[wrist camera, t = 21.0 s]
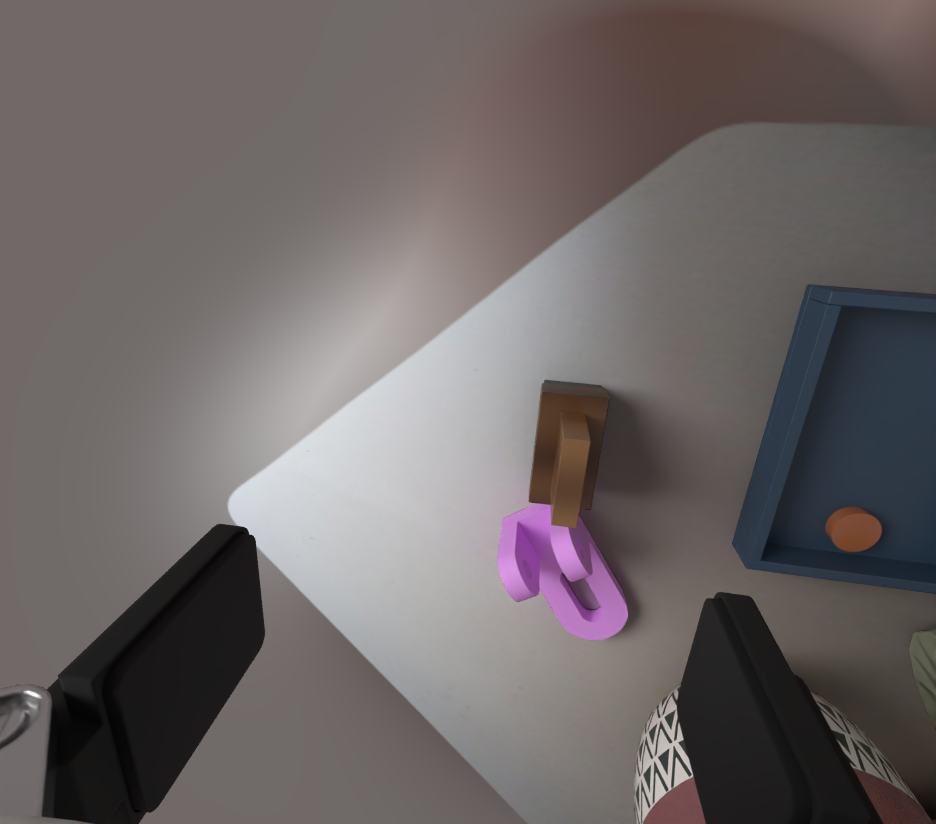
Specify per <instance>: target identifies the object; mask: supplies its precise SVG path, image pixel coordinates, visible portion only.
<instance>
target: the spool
mask: <svg viewBox="0 0 936 824" xmlns="http://www.w3.org/2000/svg"><path fill="white" fill-rule="evenodd" d="M909 652H910V657H911V663H912V668H913V674H914V678H915V681H916V683H917V686H918V689H919V691H920V694H921V697H922V699H923V702H924V705H925V708H926V710H927V713H928V715H929V717H930V719H931V721H932V723H933V725H934V727H935V729H936V628H935V629H929V630H924V631H918V632H914V633H913V636H912V640H911V643H910V647H909Z"/></svg>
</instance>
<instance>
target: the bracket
mask: <svg viewBox="0 0 936 824" xmlns="http://www.w3.org/2000/svg"><path fill="white" fill-rule="evenodd" d="M498 568H499V572H500V576H501V579H502V581H503V584H504V586H505V588H506V590H507V592H508V593H509V595H510V596H511V597H512V598H513V599H514V600H515V601H516V602H520V601H523V600H526V599H528V598H531V597H534V596H537V595H538V594H539V589H540V590H541V592H542V593H543V595H544V597H545V598H546V600H547V602H548V603H549V605H550V606H551V608H552V610H553V611H554V613H555V614H556V616H557V618H558V619H559V621H560V622H561V624H562V625H563V627H564V628H565V629H566V630H567V631H568V632H570V633H571V634H573V635H575V636H577V637H579V638H582V639H587V640H601V639H606V638H609V637H611V636H613V635H615V634H616V633H618V632H619V631H620V630H621V629H622V628H623V627H624V625H625V623H626V621H627V617H628V610H627V605H626V600H625V596H624V593H623V591H622V589H621V587H620V586H619V584H618V582H617V580H616V579H615V577H614V575H613V573H612V572H611V570H610V568H609V566H608V565H607V563H606V561H605V559H604V558H603V556H602V554H601V552H600V551H599V549H598V547H597V545H596V544H595V542H594V540H593V538H592V537H591V535H590V533H589V531H588V530H587V528H586V526H585V524H584V523H583V521H582V519H581V517H580V516H579V517H578V523H577V528H570V527H562V526H554V525H551V505H547V504H539V503H538V504H535V505H533V506H531V507H528V508H526V509H524V510H521V511H519V512H517V513H514V514H512V515H509V516H507V517H505V518H503V522H502V529H501V536H500V544H499V551H498ZM562 572H563V573H564V574H565V576H566V577H567V579H568V580H569V581H571V582H574V581H577V580H580V579H583V578H585V580H586V581H587V583H588V585H589V587H590V588H591V590H592V592H593V593H594V595H595V597H596V598H597V600H598V602H599V603H600V605H601V606H600V607H599V608H598V609H596V610H587V609H585V608H583V607H582V606H581V604H580V603H579V601H578V599H577V598H576V596H575V594H574V593H573V591H572V589H571V588H570V586H569V584H568V583H567V581H566V580H565V578H564V576H563V575H562Z"/></svg>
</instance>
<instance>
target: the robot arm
mask: <svg viewBox="0 0 936 824" xmlns="http://www.w3.org/2000/svg"><path fill="white" fill-rule="evenodd" d="M264 636H265V629H264V618H263V608H262V600H261V589H260V580H259V569H258V560H257V550H256V541H255V538H254V536H252V535H249V532H248V530H247V528H245V527H240V526H233V525H225V524H218V525H216V526H214V527H213V528H212V529H211V530H210V531H209V532H208V533H207V534H206V535H205V536H204V537H203V538H201V539H200V540H199V541H198V542H197V543H196V544H195V545H194V546H193V547H192V548H191V549H190V550H189V551H188V552H187V553H186V554H185V555H184V556H183V557H182V558H181V559H179V560H178V561H177V562H176V563H175V564H174V565H173V566H172V567H171V568H170V569H169V570H168V571H167V572H166V573H165V574H164V575H163V576H162V577H161V578H160V579H159V580H158V581H156V582H155V583H154V584H153V585H152V586H151V587H150V588H149V589H148V590H147V591H146V592H145V593H144V594H143V595H142V596H141V597H140V598H139V599H138V600H137V601H135V602H134V604H132V605H131V606H130V607H129V608H128V609H127V610H126V611H125V612H124V613H123V614H122V615H121V616H120V617H119V618H118V619H117V620H116V621H115V622H113V623H112V624H111V625H110V626H109V627H108V628H107V629H106V630H105V631H104V632H103V633H102V634H101V635H100V636H99V637H98V638H97V639H96V640H95V641H94V642H93V643H92V644H90V645H89V646H88V647H87V649H85V650H84V651H83V652H82V653H81V654H80V655H79V656H78V657H77V658H76V659H75V660H74V661H73V662H72V663H71V664H70V665H68V666H67V667H66V668H65V669H64V670H63V671H62V672H61V673H60V674H59V675H58V679H57V680H56V681H55V682H54V683H53V684H52V685H51V686H50V687H49V688H48V689H47V690H46V689H45V688H44V687H40V686H37V685H33V684H25V685H15V686H10V687H6V688H2V689H0V824H139V822H140V821H141V819H142V818H143V816H144V815H145V813H146V812H149V813H150V812H152V811H154V810H155V809H156V808H157V807H158V806H159V805H160V803H161V802H162V800H163V799H164V797H165V795H166V794H167V792H168V791H169V789H170V788H171V786H172V785H173V783H174V782H175V780H176V779H177V777H178V776H179V774H180V773H181V771H182V769H183V768H184V766H185V765H186V763H187V762H188V760H189V759H190V757H191V756H192V754H193V752H194V751H195V749H196V748H197V746H198V745H199V743H200V742H201V740H202V738H203V737H204V735H205V734H206V732H207V731H208V729H209V728H210V726H211V725H212V723H213V722H214V720H215V719H216V717H217V715H218V714H219V712H220V711H221V709H222V708H223V706H224V705H225V703H226V702H227V700H228V698H229V697H230V695H231V694H232V692H233V691H234V689H235V688H236V686H237V685H238V683H239V681H240V680H241V678H242V677H243V675H244V673H245V672H246V671H247V669H248V667H249V666H250V664H251V663H252V661H253V660H254V658H255V657H256V655H257V654H258V652H259V650H260V648H261V647H262V644H263V640H264ZM677 716H678V720H679V724H680V728H681V732H682V735H683V739H684V743H685V747H686V750H687V754H688V758H689V762H690V766H691V769H692V773H693V777H694V781H695V785H696V788H697V792H698V796H699V800H700V803H701V807H702V811H703V815H704V819H705V822H706V824H884V823H883V822H882V820H881V818H880V816H879V814H878V813H877V811H876V809H875V807H874V805H873V804H872V802H871V800H870V798H869V796H868V795H867V793H866V791H865V789H864V787H863V786H862V784H861V782H860V780H859V778H858V777H857V775H856V773H855V771H854V769H853V768H852V766H851V764H850V762H849V760H848V759H847V757H846V755H845V753H844V751H843V750H842V748H841V746H840V744H839V742H838V741H837V739H836V737H835V735H834V733H833V732H832V730H831V728H830V726H829V724H828V723H827V721H826V719H825V717H824V715H823V714H822V712H821V710H820V708H819V706H818V705H817V703H816V701H815V699H814V697H813V696H812V694H811V692H810V690H809V688H808V687H807V685H806V684H805V683H804V681H803V680H802V679H801V678H799V677H798V676H796V675H794V674H793V673H792V671H791V669H790V667H789V665H788V663H787V661H786V660H785V658H784V656H783V654H782V652H781V650H780V648H779V647H778V645H777V643H776V641H775V639H774V637H773V636H772V634H771V632H770V630H769V628H768V626H767V624H766V623H765V621H764V619H763V617H762V615H761V613H760V611H759V610H758V608H757V606H756V604H755V602H754V601H753V599H752V598H751V597H749V596H745V595H738V594H730V593H723V592H718V593H717V594H716V595H715V597H714V599H711V598H708V599H706V600H705V602H704V605H703V609H702V612H701V616H700V619H699V623H698V626H697V630H696V633H695V637H694V640H693V644H692V647H691V651H690V654H689V658H688V661H687V665H686V668H685V672H684V675H683V679H682V682H681V686H680V689H679V693H678V697H677Z"/></svg>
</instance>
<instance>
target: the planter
mask: <svg viewBox="0 0 936 824" xmlns="http://www.w3.org/2000/svg"><path fill="white" fill-rule="evenodd" d="M680 686H681V685H679V686H678V687H676V688H675V689H674V690H672V691H671V692H670V693H669V694H668V695H667V696H666V697H665V698H664V699H663V700H662V701H661V702H660V703H659V704H658V706H657V707H656V708H655V710H654V711H653V712H652V714H651V715H650V717H649V719H648V721H647V723H646V725H645V727H644V730H643V732H642V735H641V739H640V742H639V746H638V751H637V757H636V764H635V775H634V811H635V823H636V824H706V822H705V819H704V815H703V811H702V807H701V803H700V800H699V796H698V792H697V788H696V785H695V781H694V777H693V773H692V769H691V766H690V762H689V758H688V754H687V750H686V747H685V743H684V739H683V735H682V732H681V728H680V724H679V720H678V716H677V697H678V693H679V689H680ZM810 692H811V694H812V696H813V697H814V699H815V701H816V703H817V705H818V706H819V708H820V710H821V712H822V714H823V715H824V717H825V719H826V721H827V723H828V724H829V726H830V728H831V730H832V732H833V733H834V735H835V737H836V739H837V741H838V742H839V744H840V746H841V748H842V750H843V751H844V753H845V755H846V757H847V759H848V760H849V762H850V764H851V766H852V768H853V769H854V771H855V773H856V775H857V777H858V778H859V780H860V782H861V784H862V786H863V787H864V789H865V791H866V793H867V795H868V796H869V798H870V800H871V802H872V804H873V805H874V807H875V809H876V811H877V813H878V814H879V816H880V818H881V820H882V822H883V823H884V824H934V822H933V821H932V820H931V818H930V817H929V815H928V814H927V813H926V811H925V810H924V808H923V807H922V806H921V804H920V803H919V801H918V800H917V799H916V797H915V796H914V794H913V793H912V792H911V790H910V789H909V787H908V786H907V785H906V783H905V782H904V780H903V779H902V777H901V776H900V775H899V774H898V772H897V771H896V770H895V768H894V767H893V766H892V765H891V763H890V762H889V761H888V759H887V758H886V757H885V756H884V754H883V753H882V752H881V751H880V750H879V748H878V747H877V746H876V745H875V744H874V743H873V742H872V741H871V740H870V739H869V738H868V737H867V736H866V735H865V734H864V733H863V731H862V730H861V729H860V728H859V727H857V726H856V725H855V724H854V723H853V722H852V721H851V720H850V719H849V718H848V717H847V716H846V715H844V714H843V713H842V712H841V711H840V710H839V709H837V708H836V707H835V706H833V705H832V704H831V703H829V702H828V701H827V700H825V699H824V698H822V697H821V696H819V695H818V694H816V693H814V692H812V691H811V690H810Z"/></svg>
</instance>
